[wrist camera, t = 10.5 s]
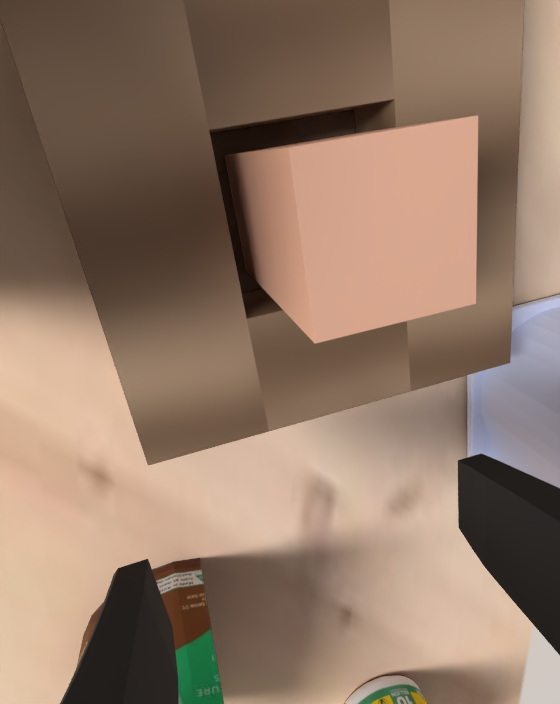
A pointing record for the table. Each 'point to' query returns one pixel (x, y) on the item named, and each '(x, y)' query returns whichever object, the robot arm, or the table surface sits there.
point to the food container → (185, 631)
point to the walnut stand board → (207, 202)
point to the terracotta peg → (362, 225)
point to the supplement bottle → (388, 692)
